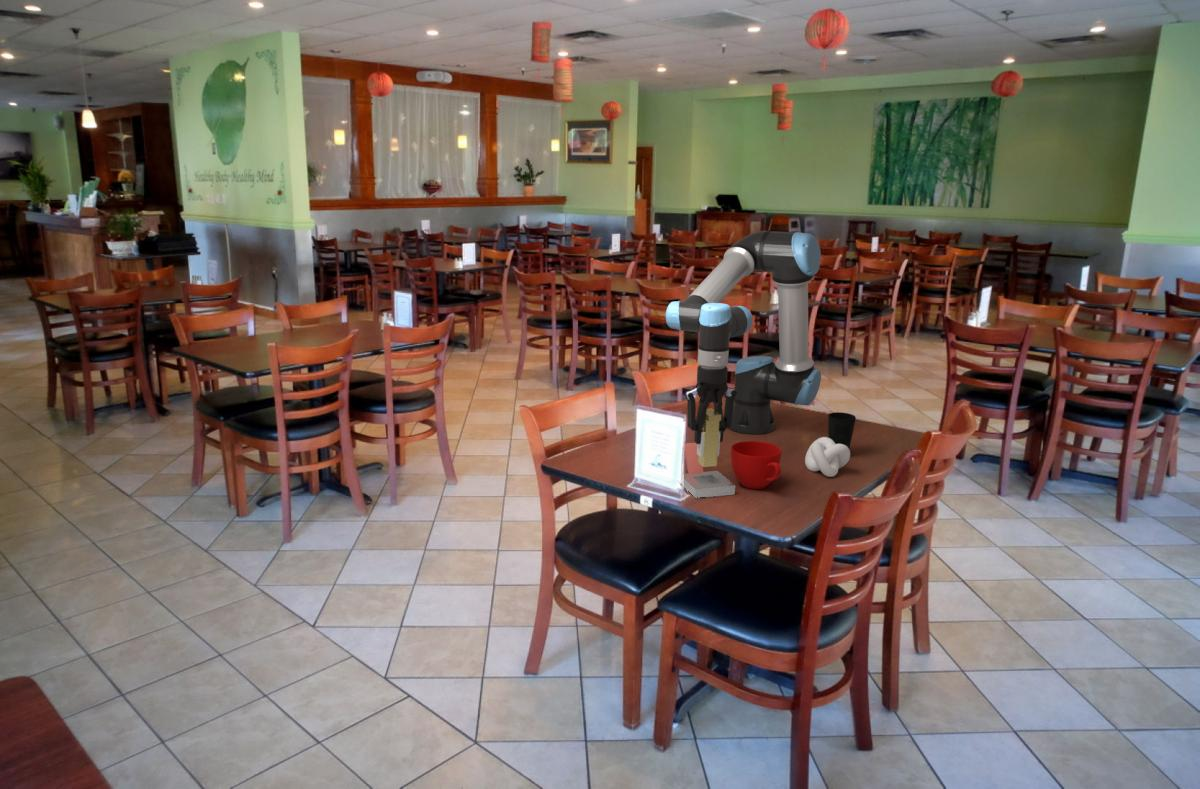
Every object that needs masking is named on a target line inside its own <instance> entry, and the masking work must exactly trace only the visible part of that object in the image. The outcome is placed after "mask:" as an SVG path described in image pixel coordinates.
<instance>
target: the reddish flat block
mask: <svg viewBox="0 0 1200 789" xmlns="http://www.w3.org/2000/svg"><path fill="white" fill-rule="evenodd" d="M683 452H684V457H685V465H686V468H687V472H688V473H697V472H705V471H704V467H703V466H702V465H701V464H700V463H698V457H699V455H698V454H697V444H696V443H695V442H688V443H687V442H686V443H685V451H684V450H683Z"/></svg>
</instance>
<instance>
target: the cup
mask: <svg viewBox="0 0 1200 789" xmlns="http://www.w3.org/2000/svg"><path fill="white" fill-rule="evenodd" d="M827 418H828V422H827V424H828V425H827V426H828V427H827V428H828V432H827V434H828V435H827V436H828V438H830V439H832V440H833V441H834V443H835V444H843V445H846V446H847V447H848V448H849V450H850V448H851V444H852V438H853V434H854V428H855V422H856V419H857V418H856V415H854V414H851V413H848V412H839V411H837V412H830V413H829V414H828V415H827ZM838 456H839V455H838Z"/></svg>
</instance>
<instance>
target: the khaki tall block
mask: <svg viewBox="0 0 1200 789" xmlns="http://www.w3.org/2000/svg"><path fill="white" fill-rule="evenodd" d="M719 421H721V414H719V413H718V412H716V411H715V410H714V408H707V411H706V416H705V420H704V425H703V429H702V431H703V432H705V438H704V457H700V456H699V457H698V463H700V464H701V465H702V466H703V468H707V467H718V466H717V465H718V456H717V452H718V435H719Z"/></svg>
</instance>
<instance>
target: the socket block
mask: <svg viewBox="0 0 1200 789" xmlns="http://www.w3.org/2000/svg"><path fill="white" fill-rule="evenodd" d="M683 474H684V485H685V488H686V490H687V492H688V491H689V492H690V493H691V494H692V495H693V496H694V497H695V498H696V499H701V498H700V497H706V498H713V497H714V496H715V497H723V496H734V495H735V494H736V484H734V483H733V482H732V481H731V480H730V479H728V478H727V477H726V476H725V475H724V474H722V473H721V472H720V471H719V470H709V471H704V472H697V473H683ZM689 492H688V493H689ZM690 493H689V494H690ZM691 494H690V495H691ZM692 495H691V496H692ZM693 496H692V497H693ZM694 497H693V498H694ZM697 497H698V498H697ZM695 498H694V499H695Z"/></svg>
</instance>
